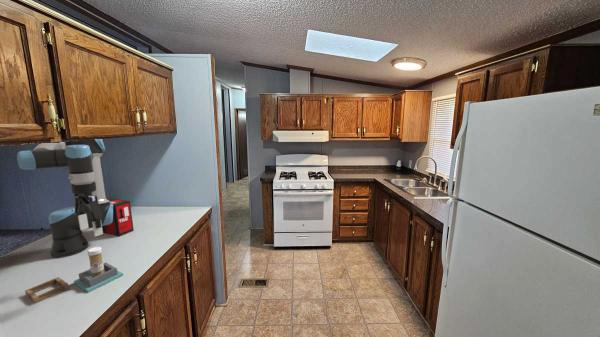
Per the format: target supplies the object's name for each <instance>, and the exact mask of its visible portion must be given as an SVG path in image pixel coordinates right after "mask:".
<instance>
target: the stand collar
mask: <svg viewBox="0 0 600 337" xmlns="http://www.w3.org/2000/svg"><path fill="white" fill-rule="evenodd" d="M54 285H58V286H57V287H55V288H53V289H49V290H48V291H45V292H42V294H39V295H37V294H36V293H38V292H40V291H42V290H45V289H48V288H49V287H51V286H52V287H53V286H54ZM68 289H70V286H69V283H67V282H66V281H65V280H63V279H62V278H60V277H59V276H58V277H55V278H53V279H51V280H47V281H46V282H43V283H40V284H38V285H36V286H33V287H31V288H28V289H26V290H24V292H25V296H26V297H27V298H29V300H31V302H33V303H34V304H38V303H40V302H43V301H44V300H46V299H49V298H51V297H53V296H55V295H57V294H60V293H62V292H64V291H65V290H68Z"/></svg>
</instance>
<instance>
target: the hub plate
mask: <svg viewBox="0 0 600 337" xmlns="http://www.w3.org/2000/svg"><path fill="white" fill-rule="evenodd" d="M103 265H104V273H102V274H100V275H98V276H96V277H93V278H92V273H91V268H89V269H87V270H85V271H82V272H79V273H78V278H77V279H75V280H73V283H74V284H75V285H76V286H78V287H79V288H81V289H82V290H84V291H85V292H86V293H91V292H93V291H95V290H97V289H99V288H101V287H102V286H105V285H107V284H109V283H111V282H114V280H117V279H119V278H121V277H123V276H124V273H123V272H122V271H119V270H118V269H117V267H115V266H113V265H111V264H109V263H107V262H103Z"/></svg>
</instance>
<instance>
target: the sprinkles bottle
mask: <svg viewBox="0 0 600 337" xmlns="http://www.w3.org/2000/svg"><path fill="white" fill-rule="evenodd" d="M87 256H88V257H89V258H88V259H89V269H91V273H92V278H93V277H96V276H98V275H100V274H102V273H104V265H103V263H104V260H103V255H102V247H101V246H95V247H92V248H89V249H88V250H87Z"/></svg>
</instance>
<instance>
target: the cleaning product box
mask: <svg viewBox="0 0 600 337" xmlns="http://www.w3.org/2000/svg"><path fill="white" fill-rule="evenodd" d="M108 200H109V201H110V204H113V222H112V223H111V224H108V225H104V226H102V230H103V234H107V235H111V236H115V237H122V236H124V235H127V234H129V233H132V232H134V231H135V229H134V223H133V214H132V207H131V201H130V200H125V199H118V198H109V199H108Z"/></svg>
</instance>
